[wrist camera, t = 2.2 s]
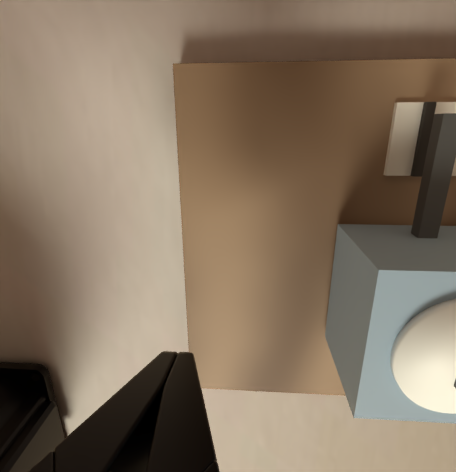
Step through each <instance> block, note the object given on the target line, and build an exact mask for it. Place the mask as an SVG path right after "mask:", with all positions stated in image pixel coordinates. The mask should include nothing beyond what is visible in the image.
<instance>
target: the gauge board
mask: <svg viewBox="0 0 456 472" xmlns="http://www.w3.org/2000/svg"><path fill="white" fill-rule="evenodd" d="M173 75H174V93H175V111H176V129H177V147H178V165H179V183H180V201H181V219H182V237H183V255H184V273H185V291H186V309H187V327H188V345H189V352H191V353H193V354H194V358H195V362H196V367H197V372H198V376H199V381H200V385H201V388H207V389H227V390H246V391H266V392H286V393H305V394H325V395H344V396H346V394H345V391H344V389H343V386H342V383H341V380H340V377H339V374H338V372H337V369H336V366H335V363H334V360H333V358H332V355H331V352H330V349H329V346H328V343H327V341H326V338H325V331H326V322H327V313H328V305H329V296H330V287H331V279H332V270H333V261H334V253H335V244H336V235H337V227H338V224H363V225H412V224H413V219H414V214H415V209H416V204H417V199H418V194H419V189H420V184H421V179H422V174H423V169H424V164H425V159H426V154H427V149H428V143H429V138H430V133H431V128H432V123H433V118H434V114H443V113H456V58H447V59H393V60H340V61H286V62H233V63H180V64H173ZM440 226H456V158H455V163H454V167H453V172H452V176H451V180H450V185H449V189H448V194H447V198H446V202H445V207H444V211H443V215H442V220H441V224H440Z"/></svg>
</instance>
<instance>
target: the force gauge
mask: <svg viewBox="0 0 456 472" xmlns="http://www.w3.org/2000/svg"><path fill="white" fill-rule="evenodd" d="M455 158H456V113H443V114H434V118H433V123H432V128H431V133H430V138H429V143H428V149H427V154H426V159H425V164H424V169H423V174H422V179H421V184H420V189H419V194H418V199H417V204H416V209H415V214H414V219H413V224H412V225H363V224H338V227H337V235H336V244H335V253H334V261H333V270H332V279H331V287H330V296H329V305H328V313H327V322H326V331H325V338H326V341H327V343H328V346H329V349H330V352H331V355H332V358H333V360H334V363H335V366H336V369H337V372H338V374H339V377H340V380H341V383H342V386H343V389H344V391H345V394H346V397H347V400H348V403H349V406H350V408H351V411H352V414H353V417H354V418H366V419H384V420H402V421H420V422H438V423H456V226H440V224H441V220H442V215H443V211H444V207H445V202H446V198H447V194H448V189H449V185H450V180H451V176H452V172H453V167H454V163H455Z"/></svg>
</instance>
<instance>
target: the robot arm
mask: <svg viewBox="0 0 456 472" xmlns="http://www.w3.org/2000/svg"><path fill="white" fill-rule="evenodd" d="M0 472H219V467H218V463H217V459H216V454H215V449H214V445H213V440H212V436H211V431H210V427H209V422H208V417H207V413H206V408H205V404H204V399H203V394H202V390H201V385H200V381H199V376H198V372H197V367H196V362H195V358H194V354H193V353H191V352H179V353H177V352H168V351H164V352H161V353H160V354H159V355H158V356H157V357H156V358H155V359H153V360H152V361H151V362H150V363H149V364H148V365H147V366H146V367H145V368H143V369H142V370H141V371H140V372H139V373H138V374H137V375H136V376H134V377H133V378H132V379H131V380H130V381H129V382H128V383H127V384H126V385H124V386H123V387H122V388H121V389H120V390H119V391H118V392H117V393H115V394H114V395H113V396H112V397H111V398H110V399H109V400H108V401H107V402H105V403H104V404H103V405H102V406H101V407H100V408H99V409H98V410H96V411H95V412H94V413H93V414H92V415H91V416H90V417H89V418H88V419H86V420H85V421H84V422H83V423H82V424H81V425H80V426H79V427H78V428H76V429H75V430H74V431H73V432H72V433H71V434H70V435H69V436H67V437H66V438H65V437H64V433H63V429H62V424H61V420H60V416H59V412H58V408H57V404H56V400H55V395H54V391H53V387H52V383H51V379H50V375H49V371H48V369H47V368H46V367H45V366H43V365H40V364H27V363H6V362H0Z"/></svg>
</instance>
